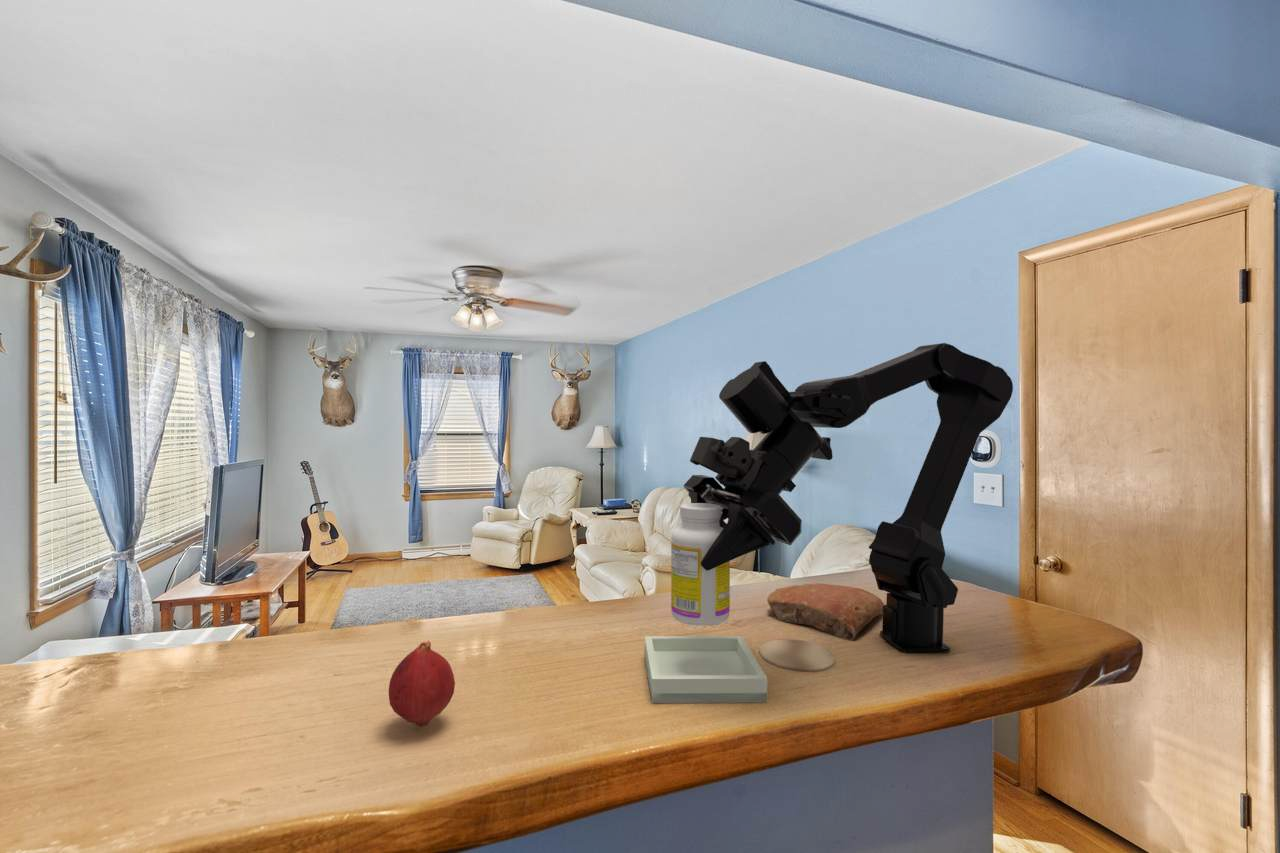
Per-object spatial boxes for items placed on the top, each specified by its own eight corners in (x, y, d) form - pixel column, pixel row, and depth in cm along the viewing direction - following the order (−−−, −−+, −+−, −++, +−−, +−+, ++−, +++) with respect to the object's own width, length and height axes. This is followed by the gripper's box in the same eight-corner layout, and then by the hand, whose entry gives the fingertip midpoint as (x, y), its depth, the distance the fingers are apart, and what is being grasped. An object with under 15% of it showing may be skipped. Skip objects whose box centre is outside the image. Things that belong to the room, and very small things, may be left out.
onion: (388, 747, 53) (389, 656, 53) (387, 716, 58) (388, 634, 58) (457, 734, 55) (458, 647, 55) (450, 706, 60) (451, 627, 60)
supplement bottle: (721, 607, 72) (723, 501, 72) (736, 627, 66) (737, 510, 66) (666, 609, 72) (667, 501, 71) (675, 629, 65) (676, 510, 65)
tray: (741, 656, 75) (741, 636, 74) (766, 702, 63) (767, 678, 62) (644, 656, 74) (644, 636, 74) (651, 703, 62) (652, 679, 62)
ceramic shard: (797, 565, 101) (890, 596, 92) (789, 603, 101) (881, 637, 92) (759, 570, 89) (861, 606, 80) (750, 613, 89) (850, 654, 80)
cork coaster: (819, 642, 80) (819, 639, 80) (846, 671, 71) (846, 667, 71) (752, 642, 79) (752, 639, 79) (771, 671, 70) (771, 668, 70)
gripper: (698, 412, 78) (617, 500, 75) (778, 412, 61) (676, 527, 57) (750, 471, 81) (674, 559, 78) (841, 488, 64) (748, 601, 60)
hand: (689, 560), depth 68 cm, fingers closed on supplement bottle, 7 cm apart
